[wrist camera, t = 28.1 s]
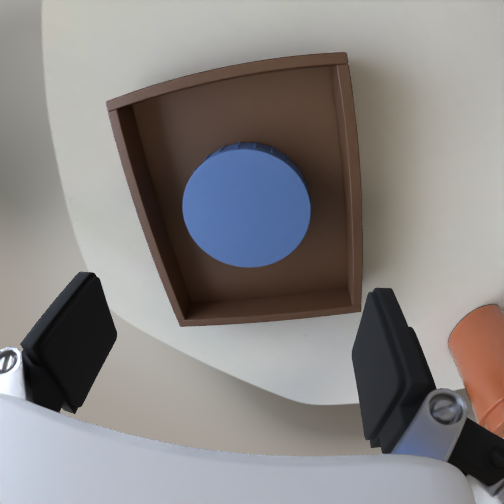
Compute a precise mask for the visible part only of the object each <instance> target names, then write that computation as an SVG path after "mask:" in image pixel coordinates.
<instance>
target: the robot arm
mask: <svg viewBox="0 0 504 504" xmlns="http://www.w3.org/2000/svg"><path fill="white" fill-rule="evenodd" d="M116 338H117V331H116V329H115V326H114V323H113V320H112V317H111V314H110V311H109V308H108V305H107V301H106V298H105V295H104V292H103V288H102V285H101V282H100V279H99V278H98V277H96V275H95V273H91V272H79V273H78V274H77V275H76V276H75V277H74V278H73V280H72V281H71V282H70V283H69V284H68V285H67V286H66V288H65V289H64V290H63V291H62V292H61V293H60V295H59V296H58V297H57V298H56V299H55V301H54V302H53V303H52V304H51V305H50V307H49V308H48V309H47V310H46V312H45V313H44V314H43V315H42V316H41V318H40V319H39V320H38V322H37V323H36V324H35V325H34V327H33V328H32V329H31V331H30V332H29V333H28V334H27V336H26V337H25V338H24V340H23V341H22V342H21V346H22V348H23V351H22V352H20V351H19V349H17V348H15V347H7V348H4V349H2V350H0V504H504V439H503V438H501V437H499V436H497V435H496V434H494V433H492V432H491V431H489V430H487V429H486V428H484V427H482V426H480V425H479V424H477V423H475V422H474V421H472V420H470V419H469V418H467V413H468V411H467V405H466V403H465V401H464V399H463V398H462V397H461V396H460V395H459V394H457V393H456V392H455V391H453V390H450V389H444V388H440V389H436V386H435V383H434V380H433V377H432V374H431V372H430V369H429V366H428V364H427V361H426V358H425V356H424V353H423V351H422V348H421V346H420V343H419V341H418V338H417V336H416V333H415V331H414V329H413V328H412V327H408V325H407V322H406V320H405V318H404V315H403V313H402V310H401V308H400V306H399V303H398V301H397V299H396V297H395V294H394V292H393V290H392V289H391V288H375V289H374V290H373V292H369V293H368V295H367V299H366V303H365V307H364V311H363V314H362V318H361V322H360V325H359V329H358V332H357V336H356V339H355V343H354V346H353V349H352V361H353V367H354V372H355V378H356V384H357V390H358V396H359V402H360V408H361V415H362V422H363V429H364V436H365V439H366V440H370V445H371V448H374V447H381V450H382V453H383V454H374V455H349V456H274V455H256V454H244V453H232V452H224V451H216V450H208V449H201V448H194V447H188V446H182V445H176V444H171V443H166V442H161V441H156V440H151V439H146V438H142V437H138V436H134V435H129V434H126V433H122V432H118V431H114V430H111V429H107V428H104V427H100V426H97V425H94V424H90V423H87V422H84V421H81V420H78V419H75V418H72V417H69V416H66V415H63V414H61V413H60V410H61V408H63V410H65V411H68V412H70V413H73V414H75V413H76V411H77V409H78V407H81V406H82V404H83V403H84V401H85V399H86V397H87V395H88V392H89V391H90V389H91V387H92V385H93V383H94V381H95V379H96V377H97V375H98V373H99V371H100V369H101V367H102V365H103V364H104V362H105V360H106V358H107V356H108V354H109V352H110V350H111V349H112V347H113V345H114V343H115V341H116Z"/></svg>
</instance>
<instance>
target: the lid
mask: <svg viewBox="0 0 504 504" xmlns="http://www.w3.org/2000/svg"><path fill="white" fill-rule="evenodd" d="M311 205H312V203H311V199H310V195H309V194H308V185H307V181H306V180H304V178H303V175H302V173H301V172H300V168H299V166H298V167H297V166H296V165H295V164H294V162H293V161H292V160H291V159H289V157H288V155H285V154H283V153H282V152H280V151H278V150H276V149H274V147H273V146H272V147H269V146H267V145H263V144H258V142H255V143H249V142H248V143H241V142H238V143H237V144H232V145H229V146H226V147H225V146H223V147H222V148H221V149H219V150H217V151H216V152H214V153H213V154H209V155H208V156H207V157H206V158H205V159H204V162H203V163H202V164H201V165H199V166H198V167H197V168H196V169H195V170H194V171H193V175H192V176H191V178H190V180H189V181H188V184H187V185H186V188H185V192H184V196H183V215H184V220H185V223H186V227H187V229H188V231H189V233H190V235H191V236H192V238H193V239H194V241H195V242H196V243H197V244H198V246H199V247H200V248H201V249H203V250H204V251H205V252H206V253H207V254H209V255H210V256H212V257H213V258H215V259H217V260H219V261H221V262H223V263H226V264H229V265H233V266H238V267H261V266H265V265H269V264H272V263H275V262H277V261H279V260H281V259H283V258H284V257H286V256H287V255H289V254H290V253H291V252H292V251H293V250H294V249H295V248H296V247H297V246H298V245H299V244H300V242H301V241H302V239H303V238H304V236H305V234H306V232H307V229H308V226H309V223H310V217H311Z"/></svg>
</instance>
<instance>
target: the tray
mask: <svg viewBox="0 0 504 504" xmlns="http://www.w3.org/2000/svg"><path fill="white" fill-rule="evenodd" d="M106 106H107V110H108V115H109V119H110V122H111V126H112V130H113V134H114V138H115V142H116V145H117V149H118V152H119V156H120V159H121V163H122V166H123V170H124V173H125V176H126V180H127V183H128V186H129V189H130V193H131V196H132V199H133V202H134V205H135V208H136V211H137V214H138V217H139V220H140V223H141V226H142V229H143V232H144V235H145V238H146V240H147V243H148V246H149V249H150V252H151V254H152V257H153V260H154V262H155V265H156V268H157V270H158V273H159V276H160V278H161V281H162V283H163V286H164V288H165V291H166V293H167V296H168V298H169V301H170V303H171V306H172V308H173V311H174V313H175V315H176V318H177V320H178V322H179V325H180V326H181V327H184V326H207V325H226V324H242V323H256V322H269V321H281V320H292V319H302V318H312V317H321V316H330V315H339V314H347V313H355V312H361V300H362V266H363V229H362V194H361V175H360V159H359V147H358V135H357V125H356V116H355V107H354V99H353V91H352V84H351V77H350V70H349V65H348V58H347V53H346V52H337V53H321V54H309V55H299V56H290V57H281V58H274V59H267V60H260V61H254V62H248V63H243V64H237V65H232V66H227V67H222V68H217V69H213V70H208V71H204V72H200V73H196V74H192V75H188V76H184V77H180V78H176V79H173V80H169V81H166V82H162V83H159V84H156V85H153V86H149V87H146V88H143V89H140V90H137V91H134V92H131V93H128V94H125V95H123V96H120V97H117V98H114V99H112V100H109V101H107V102H106ZM238 142H241V143H248V142H249V143H255V142H258V144H263V145H267V146H269V147H272V146H273V147H274V149H276V150H278V151H280V152H282V153H283V154H285V155H288V157H289V159H291V160H292V161H293V162H294V164H295V165H296V166H297V167H298V166H299V168H300V172H301V173H302V175H303V178H304V180H306V181H307V185H308V194H309V195H310V199H311V203H312V205H311V217H310V223H309V226H308V229H307V232H306V234H305V236H304V238H303V239H302V241H301V242H300V244H299V245H298V246H297V247H296V248H295V249H294V250H293V251H292V252H291V253H290V254H289V255H287V256H286V257H284V258H283V259H281V260H279V261H277V262H275V263H272V264H269V265H265V266H261V267H238V266H233V265H229V264H226V263H223V262H221V261H219V260H217V259H215V258H213V257H212V256H210V255H209V254H207V253H206V252H205V251H204V250H203V249H201V248H200V247H199V246H198V244H197V243H196V242H195V241H194V239H193V238H192V236H191V235H190V233H189V231H188V229H187V227H186V223H185V220H184V215H183V196H184V192H185V188H186V185H187V184H188V181H189V180H190V178H191V176H192V175H193V171H194V170H195V169H196V168H197V167H198V166H199V165H201V164H202V163H203V162H204V159H205V158H206V157H207V156H208V155H209V154H213V153H214V152H216V151H217V150H219V149H221V148H222V147H223V146H225V147H226V146H229V145H232V144H237V143H238Z"/></svg>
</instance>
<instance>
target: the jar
mask: <svg viewBox="0 0 504 504" xmlns="http://www.w3.org/2000/svg"><path fill="white" fill-rule="evenodd" d="M448 348H449V351H450V353H451V355H452V358H453V360H454V362H455V365H456V367H457V369H458V372H459V374H460V377H461V379H462V382H463V384H464V387H465V389H466V392H467V395H468V397H469V400H470V402H471V405H472V408H473V411H474V414H475V417H476V420H477V423H478V424H479V425H480V426H482V427H484V428H486V429H487V430H489V431H491V432H492V433H494V434H496V435H497V436H499V437H501V438H503V437H504V312H503V310H502V309H501V308H500V307H499V306H497V305H486V306H482V307H480V308H478V309H476V310H474V311H472V312H471V313H469V314H468V315H467V316H466V317H464V318H463V319H462V320H461V321H460V322H459V323H458V324H457V326H456V327H455V328H454V330H453V331H452V333H451V335H450V338H449V341H448Z"/></svg>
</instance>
